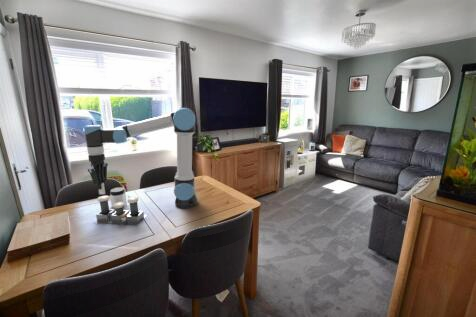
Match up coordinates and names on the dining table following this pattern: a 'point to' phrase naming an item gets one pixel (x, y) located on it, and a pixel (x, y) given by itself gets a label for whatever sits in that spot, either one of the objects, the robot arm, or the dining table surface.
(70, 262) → the dining table surface
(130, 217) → the console
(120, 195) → the jar
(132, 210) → the knob
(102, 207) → the knob
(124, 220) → the trim pot
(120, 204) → the knob mid
